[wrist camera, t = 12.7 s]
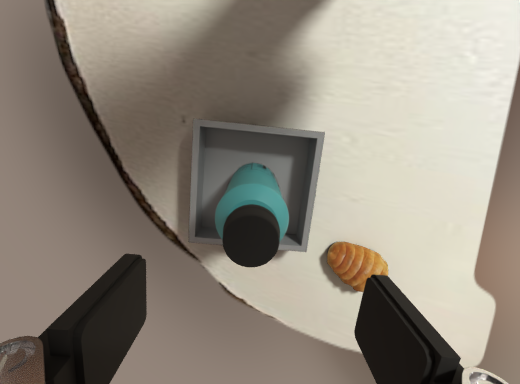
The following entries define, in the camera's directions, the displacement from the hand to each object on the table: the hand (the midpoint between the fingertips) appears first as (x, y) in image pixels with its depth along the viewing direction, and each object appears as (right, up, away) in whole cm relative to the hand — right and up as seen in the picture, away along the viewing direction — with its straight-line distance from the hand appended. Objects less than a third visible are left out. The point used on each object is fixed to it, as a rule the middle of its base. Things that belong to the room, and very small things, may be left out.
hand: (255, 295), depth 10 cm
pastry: (+15, -7, +30) cm, 35 cm away
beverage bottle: (-1, +6, +26) cm, 26 cm away
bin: (-1, +6, +26) cm, 27 cm away
